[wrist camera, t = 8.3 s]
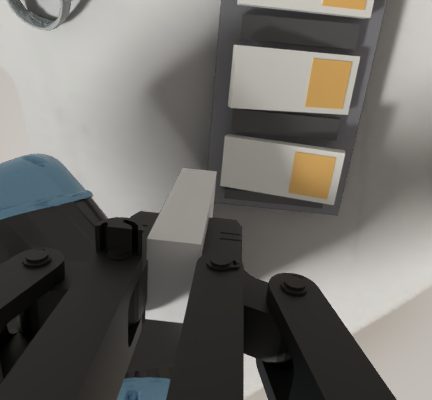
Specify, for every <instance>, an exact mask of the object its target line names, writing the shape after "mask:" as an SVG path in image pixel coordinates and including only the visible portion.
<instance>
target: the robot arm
mask: <svg viewBox="0 0 432 400" xmlns="http://www.w3.org/2000/svg"><path fill="white" fill-rule="evenodd" d="M216 174H217V171H208V170H198V169H189V168H182V170H181V172H180V174H179V176H178V178H177V180H176V182H175V184H174V186H173V188H172V190H171V192H170V194H169V196H168V198H167V200H166V202H165V203H164V205H163V207H162V209H161V211H160V213H153V212H144V211H140V212H138V213H136V214H135V215H133V216H131V217H130V218H119V217H116V218H109V219H108V218H107V216H106V215H105V214H104V213H103V211H102V210H101V209H100V208H99V206H98V205H97V204H96V203H95V201H94V200H93V199H92V196H93V194H92V193H91V192H90V191H87V190H85V189H84V187H83V186H82V185H81V184H80V183H79V182H78V181H77V180H76V178H75V177H74V176H73V175H72V174H71V173H70V172H69V171H68V170H67V168H66V167H65V166H64V165H63V164H62V163H61V162H60V161H59V160H57V159H56V158H54V157H52V156H49V155H45V154H30V155H25V156H22V157H18V158H15V159H12V160H9V161H6V162H4V163H1V164H0V400H243V353H244V354H247V355H249V356H252V357H255V358H256V364H257V368H258V371H259V374H260V377H261V380H262V383H263V386H264V389H265V391H266V394H267V398H268V400H396V398H395V397H394V395H393V394H392V393H391V391H390V390H389V388H388V387H387V385H386V384H385V383H384V381H383V380H382V378H381V377H380V375H379V374H378V372H377V371H376V370H375V368H374V367H373V365H372V364H371V362H370V361H369V360H368V358H367V357H366V355H365V354H364V352H363V351H362V349H361V348H360V347H359V345H358V344H357V342H356V341H355V339H354V338H353V336H352V335H351V334H350V332H349V331H348V329H347V328H346V326H345V325H344V324H343V322H342V321H341V319H340V318H339V316H338V315H337V313H336V312H335V311H334V309H333V308H332V306H331V305H330V303H329V302H328V301H327V299H326V298H325V296H324V295H323V293H322V292H321V290H320V289H319V288H318V286H317V285H316V284H315V283H314V282H313V281H311V280H310V279H308V278H306V277H304V276H302V275H298V274H294V273H281V274H277V275H275V276H273V277H271V279H270V281H269V283H268V282H264V281H261V280H259V279H256V278H254V277H252V276H251V275H249V274H248V273H247V272H246V271H245V270H244V267H243V264H242V227H241V226H240V224H239V223H238V222H237V221H236V220H229V219H219V218H213V207H214V196H215V185H216Z"/></svg>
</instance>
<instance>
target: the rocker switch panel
mask: <svg viewBox="0 0 432 400" xmlns="http://www.w3.org/2000/svg"><path fill="white" fill-rule="evenodd" d="M237 1H238V0H221V7H220V20H219V32H218V44H217V57H216V69H215V82H214V94H213V106H212V119H211V131H210V143H209V156H208V168H207V170H208V171H217V174H216V185H215V196H214V203H223V204H233V205H243V206H252V207H262V208H271V209H281V210H290V211H300V212H309V213H319V214H328V215H338V212H339V208H340V203H341V199H342V194H343V190H344V186H345V181H346V177H347V173H348V168H349V164H350V159H351V155H352V151H353V146H354V142H355V138H356V133H357V129H358V124H359V120H360V116H361V111H362V107H363V103H364V98H365V94H366V89H367V85H368V81H369V76H370V72H371V68H372V63H373V59H374V54H375V50H376V46H377V41H378V37H379V33H380V28H381V24H382V19H383V15H384V11H385V6H386V2H387V0H374V4H373V8H372V13H371V17H370V18H365V19H361V18H352V17H343V16H334V15H325V14H316V13H307V12H298V11H289V10H279V9H270V8H261V7H252V6H243V5H237ZM234 45H243V46H253V47H264V48H275V49H285V50H296V51H307V52H317V53H328V54H338V55H349V56H360V61H359V65H358V70H357V75H356V79H355V84H354V89H353V93H352V98H351V102H350V107H349V112H348V115H341V114H324V113H307V112H290V111H273V110H256V109H239V108H230V107H229V106H228V99H229V89H230V78H231V68H232V57H233V47H234ZM227 134H233V135H240V136H247V137H254V138H261V139H268V140H275V141H282V142H289V143H296V144H304V145H311V146H318V147H325V148H332V149H339V150H345V157H344V162H343V166H342V171H341V175H340V180H339V184H338V189H337V193H336V198H335V202H334V205H329V204H323V203H318V202H312V201H306V200H300V199H294V198H288V197H283V196H277V195H271V194H265V193H259V192H253V191H248V190H242V189H236V188H230V187H224V186H220V182H221V171H222V161H223V150H224V140H225V136H226V135H227Z"/></svg>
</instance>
